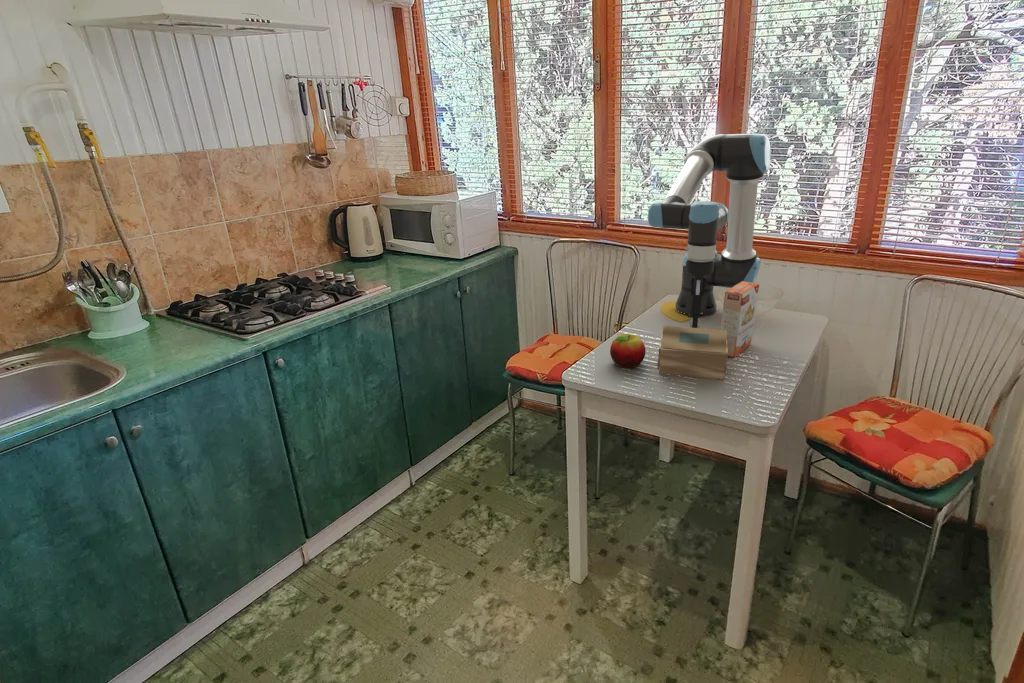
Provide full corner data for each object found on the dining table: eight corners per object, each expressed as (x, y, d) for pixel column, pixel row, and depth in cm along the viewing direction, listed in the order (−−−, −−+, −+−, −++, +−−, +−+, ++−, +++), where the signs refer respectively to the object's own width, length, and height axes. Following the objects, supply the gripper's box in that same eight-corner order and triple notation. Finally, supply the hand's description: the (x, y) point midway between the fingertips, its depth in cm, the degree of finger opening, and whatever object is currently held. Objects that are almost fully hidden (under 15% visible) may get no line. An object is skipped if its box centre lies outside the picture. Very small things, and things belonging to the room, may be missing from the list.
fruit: (652, 366, 174) (654, 335, 170) (624, 374, 169) (626, 343, 165) (629, 354, 182) (630, 325, 179) (602, 362, 178) (603, 332, 174)
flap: (663, 326, 167) (663, 325, 167) (726, 330, 162) (727, 329, 161) (661, 348, 165) (661, 347, 165) (725, 353, 160) (725, 352, 159)
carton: (661, 354, 181) (662, 331, 178) (724, 359, 175) (726, 335, 172) (657, 373, 168) (658, 349, 165) (725, 380, 163) (728, 354, 160)
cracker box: (735, 358, 176) (743, 294, 168) (716, 354, 180) (723, 290, 172) (752, 344, 186) (760, 283, 178) (734, 340, 189) (741, 280, 182)
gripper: (687, 253, 165) (681, 328, 174) (685, 264, 154) (679, 344, 163) (714, 253, 163) (707, 330, 172) (714, 265, 151) (706, 346, 160)
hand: (693, 337), depth 167 cm, fingers closed
